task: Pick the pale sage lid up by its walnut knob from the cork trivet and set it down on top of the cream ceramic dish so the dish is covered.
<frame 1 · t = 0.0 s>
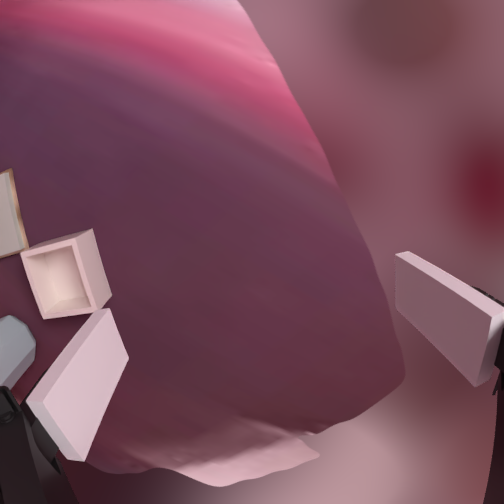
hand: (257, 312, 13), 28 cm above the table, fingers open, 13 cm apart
water bottle: (19, 336, 43), on the table
dish: (73, 268, 41), on the table
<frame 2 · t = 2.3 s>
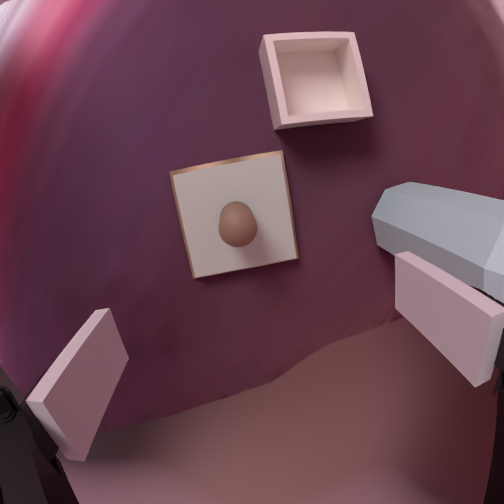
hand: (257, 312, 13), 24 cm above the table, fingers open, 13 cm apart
water bottle: (398, 218, 38), on the table
trivet: (235, 215, 37), on the table
dish: (307, 85, 33), on the table
lid: (236, 215, 36), resting on trivet
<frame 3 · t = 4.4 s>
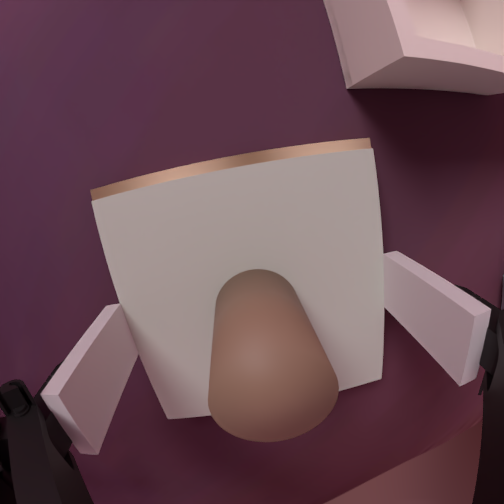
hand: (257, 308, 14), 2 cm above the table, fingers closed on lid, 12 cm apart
trivet: (253, 293, 15), on the table
dish: (406, 9, 12), on the table
lid: (255, 297, 15), resting on trivet, touching gripper
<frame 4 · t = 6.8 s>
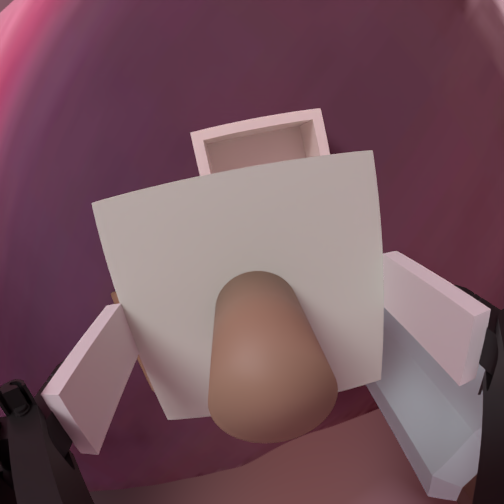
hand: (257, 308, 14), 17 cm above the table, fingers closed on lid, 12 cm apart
water bottle: (377, 321, 34), on the table
dish: (262, 179, 29), on the table
lid: (254, 298, 15), point 16 cm above the table, touching gripper
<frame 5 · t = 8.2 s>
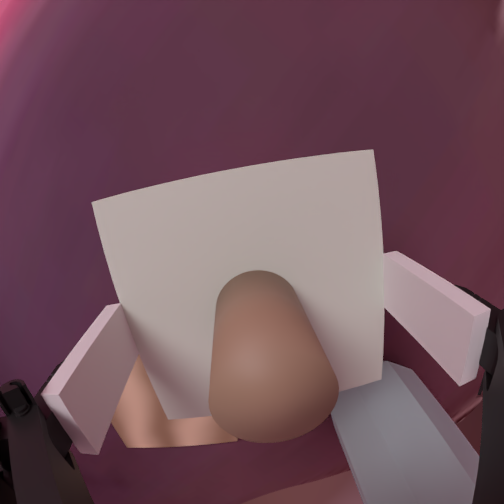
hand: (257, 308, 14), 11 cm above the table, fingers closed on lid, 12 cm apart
water bottle: (368, 391, 29), on the table
trivet: (160, 403, 27), on the table
lid: (255, 298, 15), point 9 cm above the table, touching gripper
when the fingers open (7 cm above the table, at t = 9.4 s): lid stays where it is, resting on dish.
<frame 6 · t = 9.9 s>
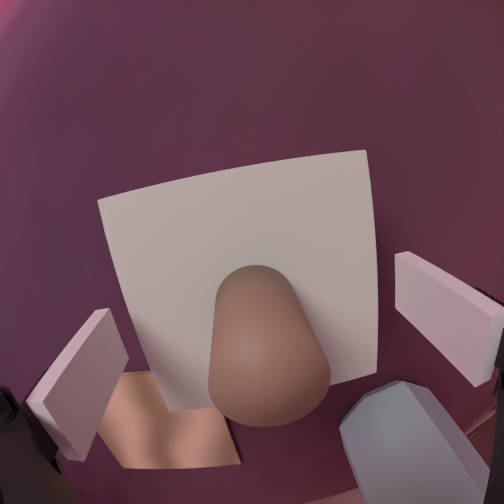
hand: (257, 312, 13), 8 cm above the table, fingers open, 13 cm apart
water bottle: (381, 411, 26), on the table
trivet: (156, 426, 24), on the table
lid: (253, 292, 15), point 5 cm above the table, touching dish
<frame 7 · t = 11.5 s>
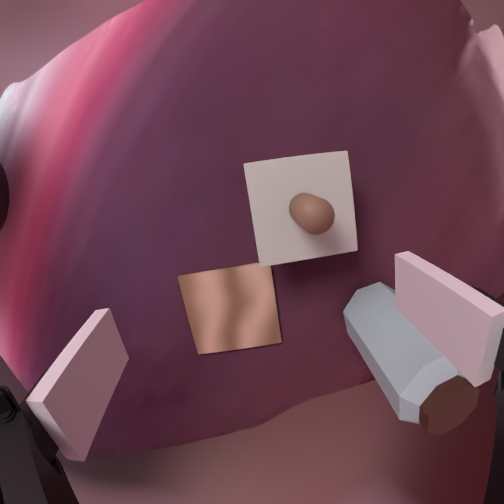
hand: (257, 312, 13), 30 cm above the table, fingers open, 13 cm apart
water bottle: (369, 308, 47), on the table
trivet: (231, 310, 45), on the table
lid: (302, 207, 36), point 5 cm above the table, touching dish
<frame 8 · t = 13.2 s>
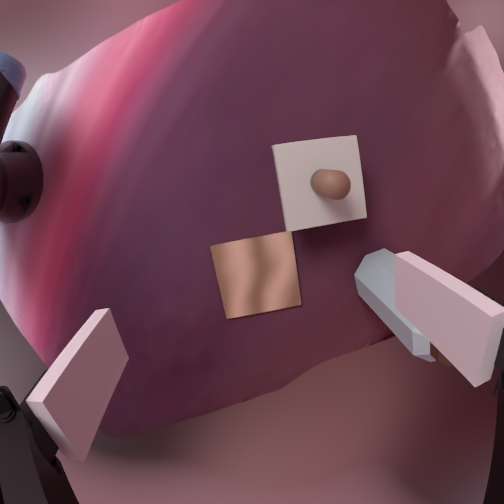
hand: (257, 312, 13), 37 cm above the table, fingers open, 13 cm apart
water bottle: (376, 273, 54), on the table
trivet: (257, 276, 52), on the table
lid: (320, 181, 43), point 5 cm above the table, touching dish
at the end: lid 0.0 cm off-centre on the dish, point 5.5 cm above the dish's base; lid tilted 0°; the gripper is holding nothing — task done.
